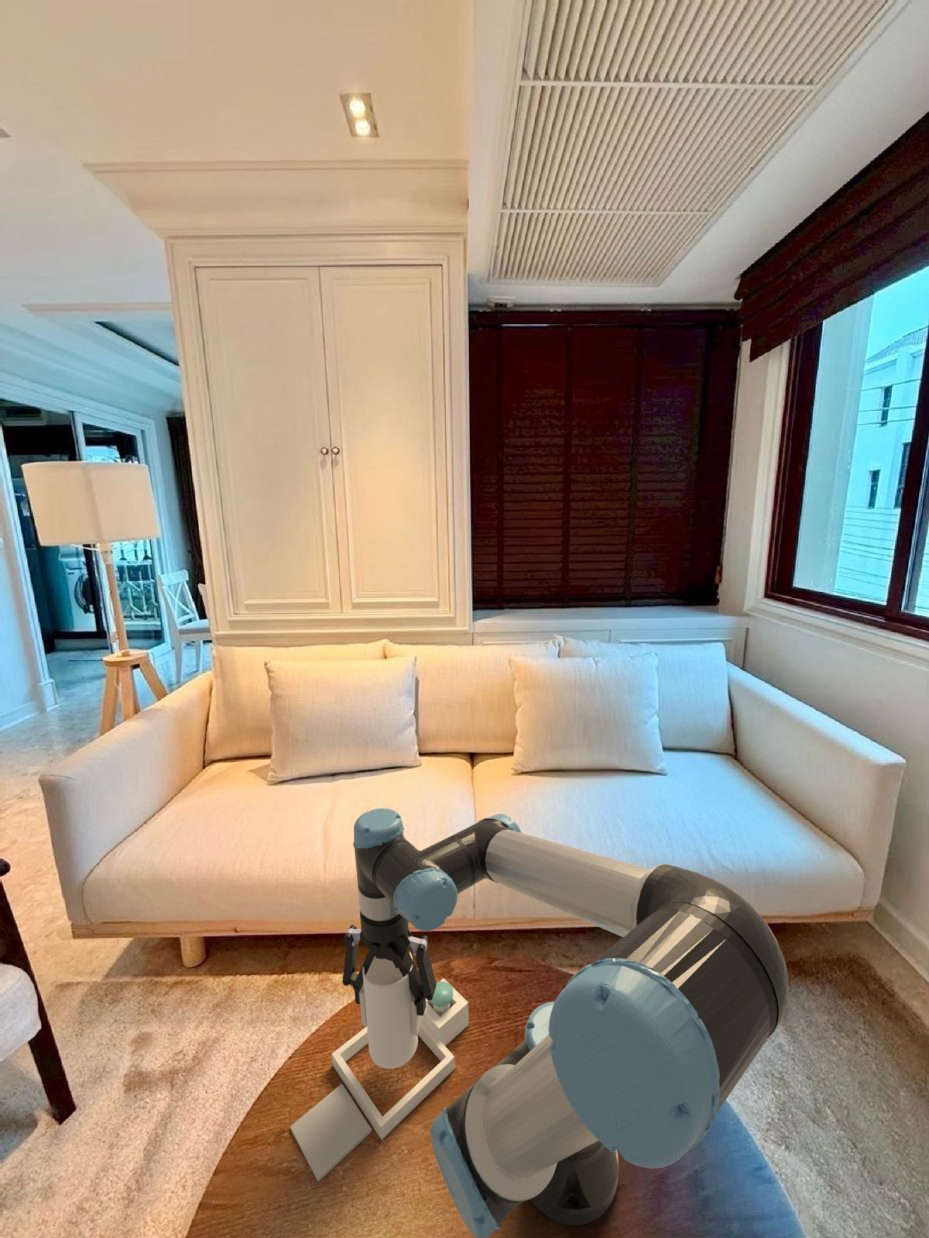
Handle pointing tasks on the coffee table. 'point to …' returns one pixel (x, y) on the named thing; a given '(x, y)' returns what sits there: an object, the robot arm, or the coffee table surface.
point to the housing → (436, 1037)
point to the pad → (330, 1131)
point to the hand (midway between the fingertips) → (391, 1022)
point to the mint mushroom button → (442, 997)
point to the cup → (388, 1014)
